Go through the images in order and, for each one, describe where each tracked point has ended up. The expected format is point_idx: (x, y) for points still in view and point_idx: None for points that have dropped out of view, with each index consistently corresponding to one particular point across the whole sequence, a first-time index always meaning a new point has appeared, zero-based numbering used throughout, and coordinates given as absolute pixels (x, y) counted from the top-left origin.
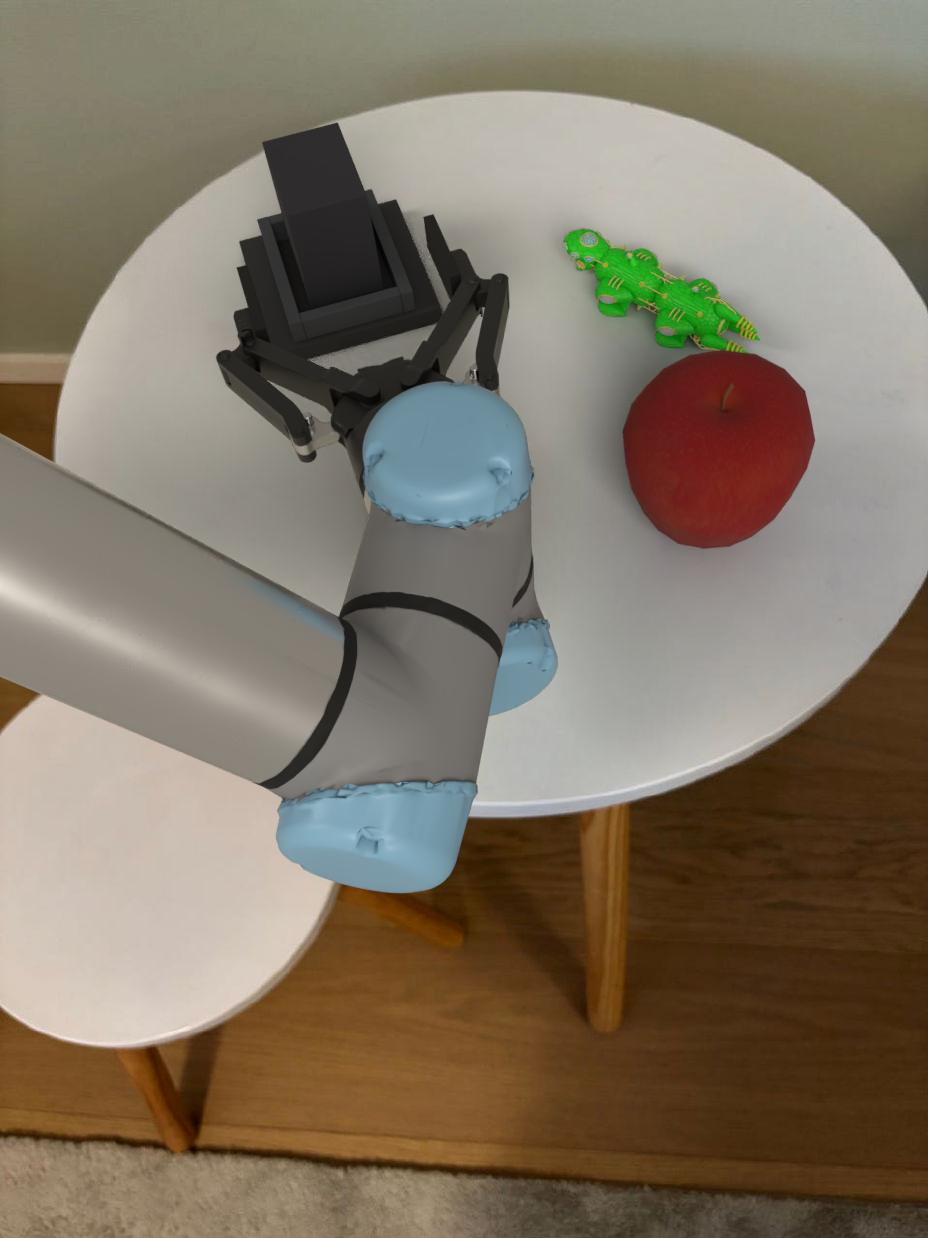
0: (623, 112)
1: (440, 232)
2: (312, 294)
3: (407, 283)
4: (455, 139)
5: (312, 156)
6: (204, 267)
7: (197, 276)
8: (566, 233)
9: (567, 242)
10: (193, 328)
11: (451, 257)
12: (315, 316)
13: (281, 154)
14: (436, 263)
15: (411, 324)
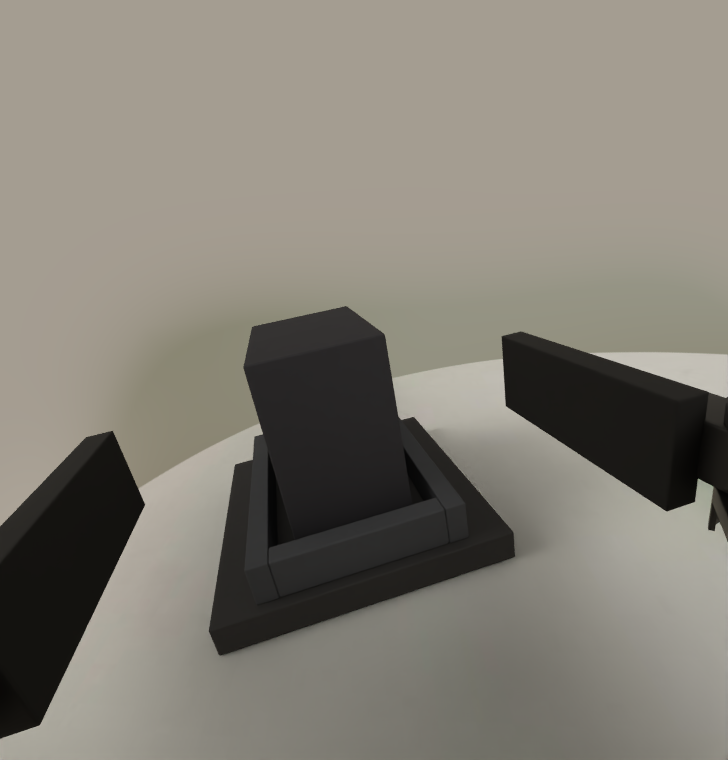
0: (613, 352)
1: (557, 345)
2: (295, 515)
3: (453, 492)
4: (461, 381)
5: (309, 324)
6: (192, 496)
7: (178, 506)
8: None
9: None
10: (132, 576)
11: (630, 369)
12: (294, 553)
13: (269, 329)
14: (551, 417)
15: (463, 564)
